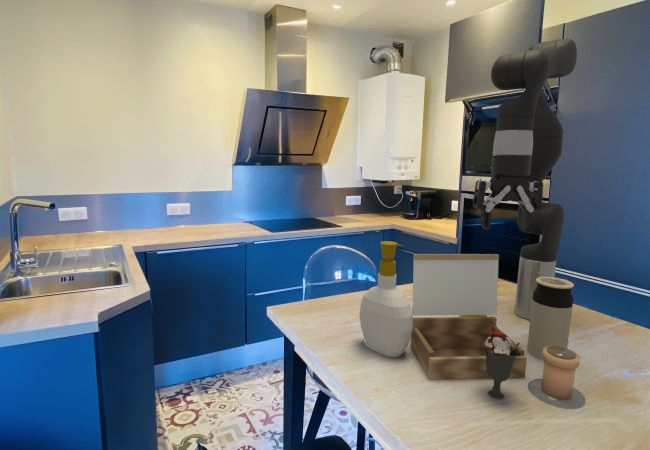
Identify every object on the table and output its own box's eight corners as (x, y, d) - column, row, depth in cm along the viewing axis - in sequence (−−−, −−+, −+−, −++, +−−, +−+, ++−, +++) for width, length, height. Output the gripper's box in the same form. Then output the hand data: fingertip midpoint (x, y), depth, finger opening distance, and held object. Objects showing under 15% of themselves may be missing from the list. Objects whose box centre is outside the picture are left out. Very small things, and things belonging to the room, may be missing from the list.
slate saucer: (562, 381, 82) (563, 377, 82) (597, 410, 73) (597, 406, 72) (517, 382, 81) (518, 378, 81) (546, 412, 72) (547, 408, 72)
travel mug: (551, 367, 87) (561, 289, 84) (519, 351, 94) (527, 278, 91) (573, 359, 91) (583, 284, 88) (540, 345, 98) (548, 274, 95)
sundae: (470, 387, 79) (477, 316, 77) (503, 386, 80) (510, 315, 77) (486, 408, 73) (494, 331, 70) (522, 407, 73) (530, 330, 71)
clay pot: (561, 382, 80) (565, 344, 79) (582, 400, 74) (587, 359, 73) (532, 383, 80) (536, 344, 78) (551, 401, 74) (556, 360, 72)
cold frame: (491, 348, 96) (494, 316, 95) (524, 380, 82) (528, 344, 81) (410, 349, 94) (411, 317, 93) (429, 382, 81) (431, 345, 79)
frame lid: (496, 314, 94) (495, 313, 94) (498, 254, 93) (497, 254, 94) (413, 315, 92) (412, 314, 93) (414, 254, 91) (413, 254, 92)
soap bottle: (421, 355, 92) (428, 245, 87) (396, 368, 86) (402, 250, 81) (375, 334, 102) (379, 234, 98) (350, 344, 97) (353, 238, 92)
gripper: (533, 153, 88) (526, 226, 91) (471, 152, 87) (465, 226, 90) (555, 153, 81) (546, 232, 84) (487, 152, 80) (481, 232, 82)
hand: (504, 228), depth 87 cm, fingers open, 8 cm apart
